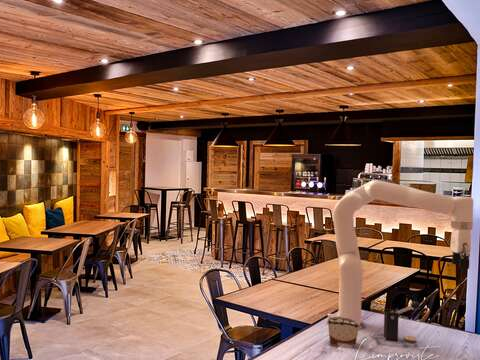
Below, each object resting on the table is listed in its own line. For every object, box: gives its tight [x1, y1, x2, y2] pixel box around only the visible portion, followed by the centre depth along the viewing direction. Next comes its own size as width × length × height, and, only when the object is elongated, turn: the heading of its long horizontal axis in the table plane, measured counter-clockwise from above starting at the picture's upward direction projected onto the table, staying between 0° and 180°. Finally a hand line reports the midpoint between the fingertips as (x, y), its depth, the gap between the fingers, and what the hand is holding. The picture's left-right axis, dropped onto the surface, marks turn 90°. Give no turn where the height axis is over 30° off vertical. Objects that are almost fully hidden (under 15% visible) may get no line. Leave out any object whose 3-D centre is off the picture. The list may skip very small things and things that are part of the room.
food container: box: [326, 317, 361, 347], centre depth 186 cm, size 12×6×10 cm, turn 71°
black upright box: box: [383, 308, 400, 343], centre depth 189 cm, size 10×8×13 cm
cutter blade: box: [391, 300, 421, 315], centre depth 187 cm, size 13×3×3 cm, turn 73°
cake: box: [402, 334, 417, 344], centre depth 187 cm, size 5×5×3 cm
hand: (460, 266), depth 195 cm, fingers open, 9 cm apart
